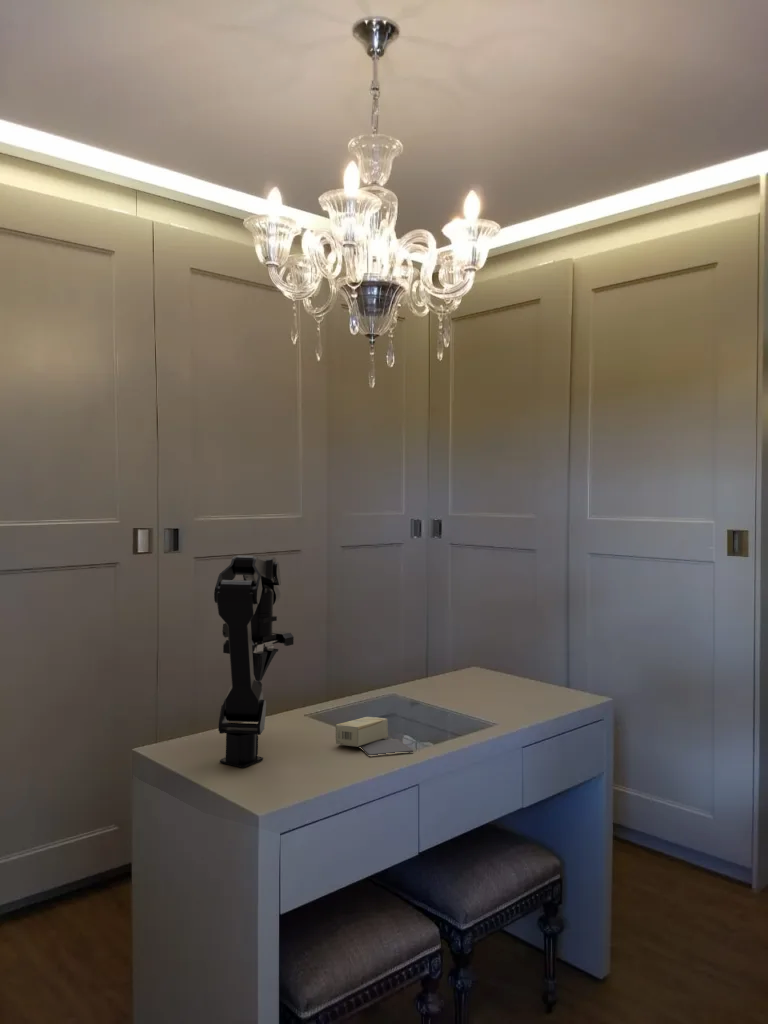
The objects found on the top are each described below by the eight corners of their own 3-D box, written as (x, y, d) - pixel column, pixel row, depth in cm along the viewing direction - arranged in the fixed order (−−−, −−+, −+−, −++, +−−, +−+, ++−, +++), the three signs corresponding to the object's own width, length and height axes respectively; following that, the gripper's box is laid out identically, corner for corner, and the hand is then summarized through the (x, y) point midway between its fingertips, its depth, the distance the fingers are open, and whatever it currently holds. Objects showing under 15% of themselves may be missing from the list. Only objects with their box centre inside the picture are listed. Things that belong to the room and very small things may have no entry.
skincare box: (335, 724, 170) (364, 715, 180) (335, 745, 169) (365, 735, 180) (358, 727, 167) (388, 717, 177) (359, 748, 166) (388, 737, 177)
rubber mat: (369, 757, 163) (369, 754, 163) (355, 744, 171) (355, 742, 171) (412, 753, 167) (413, 750, 167) (397, 741, 175) (397, 738, 175)
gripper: (258, 605, 187) (256, 669, 187) (204, 612, 171) (203, 683, 171) (295, 609, 182) (294, 675, 182) (244, 617, 165) (242, 690, 165)
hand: (258, 680), depth 175 cm, fingers closed
